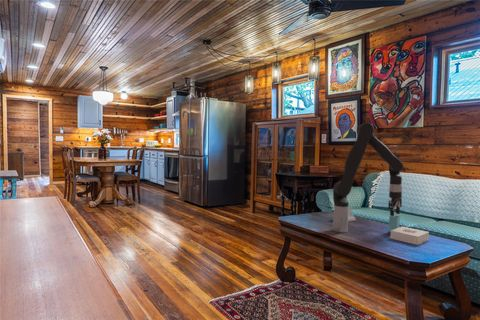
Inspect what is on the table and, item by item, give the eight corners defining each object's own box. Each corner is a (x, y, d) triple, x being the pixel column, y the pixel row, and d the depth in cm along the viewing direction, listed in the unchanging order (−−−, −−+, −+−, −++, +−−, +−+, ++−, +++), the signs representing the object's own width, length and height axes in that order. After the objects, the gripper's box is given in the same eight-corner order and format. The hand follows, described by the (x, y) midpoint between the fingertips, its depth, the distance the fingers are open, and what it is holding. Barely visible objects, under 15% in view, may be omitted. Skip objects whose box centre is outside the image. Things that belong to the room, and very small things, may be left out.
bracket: (396, 233, 206) (397, 217, 205) (388, 231, 210) (389, 215, 209) (399, 232, 208) (399, 216, 208) (391, 230, 212) (392, 215, 212)
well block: (417, 244, 183) (418, 236, 182) (390, 238, 195) (390, 230, 195) (428, 239, 193) (428, 231, 193) (401, 233, 205) (402, 226, 205)
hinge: (341, 222, 234) (338, 209, 236) (336, 223, 238) (333, 210, 240) (356, 219, 242) (353, 207, 245) (351, 220, 246) (348, 208, 249)
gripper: (394, 189, 215) (394, 212, 216) (384, 191, 206) (384, 215, 207) (405, 190, 209) (405, 214, 210) (396, 192, 200) (395, 217, 201)
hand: (394, 214), depth 208 cm, fingers open, 8 cm apart
